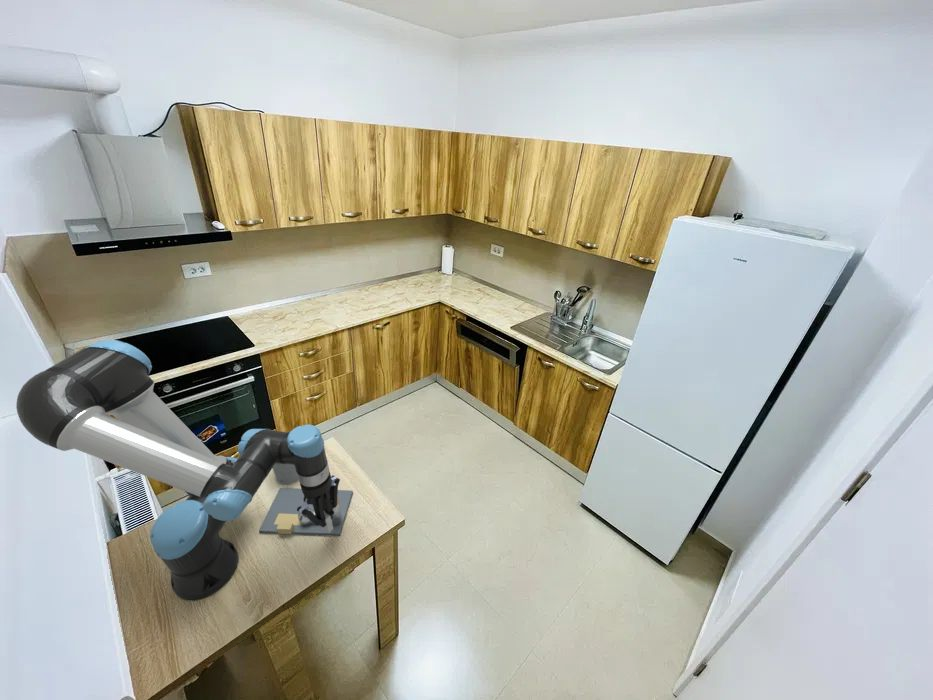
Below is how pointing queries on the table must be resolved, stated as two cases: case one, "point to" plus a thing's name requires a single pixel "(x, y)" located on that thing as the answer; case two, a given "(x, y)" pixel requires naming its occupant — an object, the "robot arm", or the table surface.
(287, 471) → the grey cylinder
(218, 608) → the table surface
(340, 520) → the bar
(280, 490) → the plate
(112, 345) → the robot arm
